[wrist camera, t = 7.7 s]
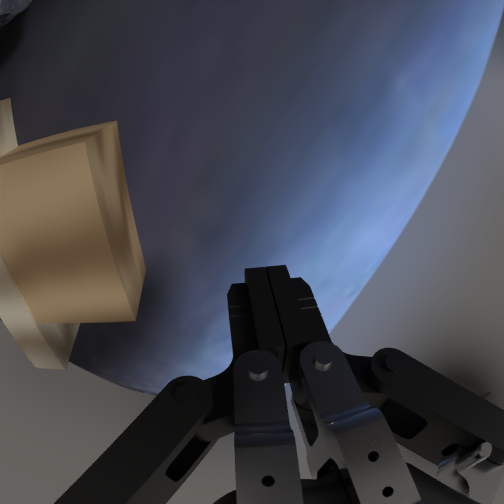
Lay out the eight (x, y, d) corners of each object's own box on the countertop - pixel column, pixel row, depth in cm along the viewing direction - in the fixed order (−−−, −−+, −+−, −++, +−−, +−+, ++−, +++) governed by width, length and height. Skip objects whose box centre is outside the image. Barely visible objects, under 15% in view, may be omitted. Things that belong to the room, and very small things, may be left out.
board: (-21, 111, 11) (-71, 134, 7) (10, 97, 11) (-42, 116, 7) (52, 321, 21) (36, 367, 17) (80, 321, 22) (65, 370, 17)
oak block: (19, 145, 13) (-27, 175, 9) (117, 119, 14) (84, 141, 10) (61, 274, 19) (38, 323, 15) (146, 267, 20) (135, 321, 16)
